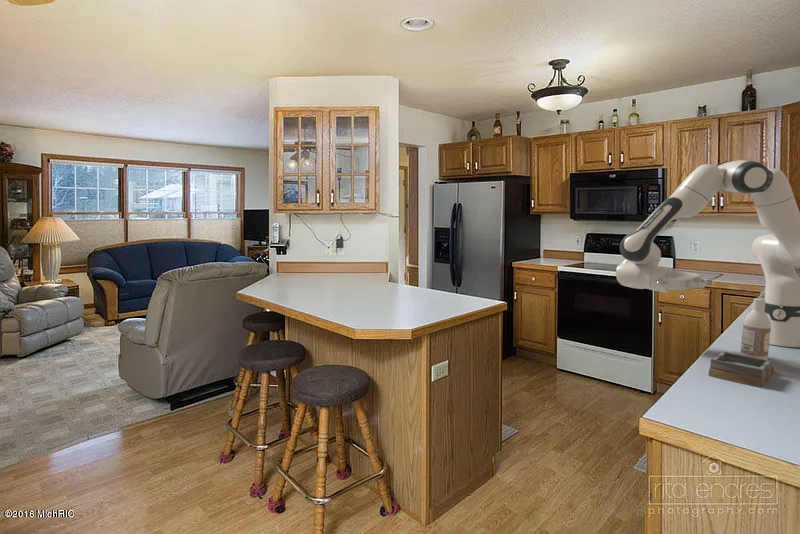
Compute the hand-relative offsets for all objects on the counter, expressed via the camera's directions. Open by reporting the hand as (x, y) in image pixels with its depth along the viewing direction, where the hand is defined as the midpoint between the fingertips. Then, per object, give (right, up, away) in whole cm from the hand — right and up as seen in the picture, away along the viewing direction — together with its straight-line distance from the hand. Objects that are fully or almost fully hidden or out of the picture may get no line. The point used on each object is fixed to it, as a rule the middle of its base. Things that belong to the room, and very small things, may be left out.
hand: (708, 284), depth 159 cm
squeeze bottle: (+47, -19, +38) cm, 64 cm away
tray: (-3, -25, -19) cm, 32 cm away
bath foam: (+9, -24, -7) cm, 27 cm away
